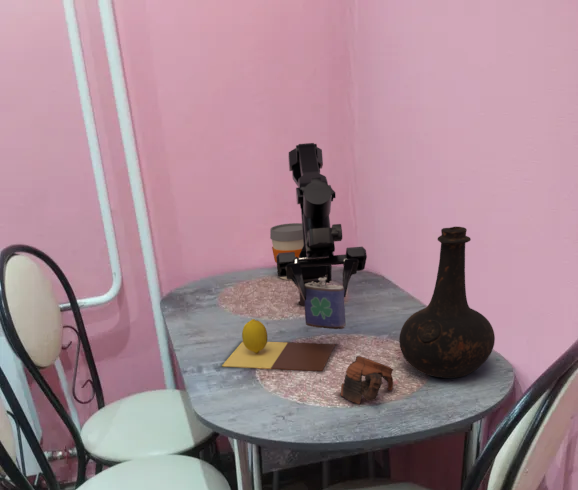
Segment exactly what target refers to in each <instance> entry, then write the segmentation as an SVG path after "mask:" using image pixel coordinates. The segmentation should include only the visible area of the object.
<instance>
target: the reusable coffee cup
mask: <svg viewBox="0 0 578 490" xmlns="http://www.w3.org/2000/svg"><path fill="white" fill-rule="evenodd" d="M269 232H270V233H269V234H270V237H269V239H270V240H271V244H272V246H271V251H272V255H273V259H274V263H276V264H277V260H276V256H277V255H278V253H287V252H295V257H298V258H299V254H300V252H301V250H302V248H303V246H304V245H303V231H302V222H301V223H300V222H296V223H295V222H293V223H292V222H291V223H283V224H278V225H274V226H272V227H270V231H269ZM279 279H281V280H286V281H287V280H288V281H292V280H291V279H287V277H279Z"/></svg>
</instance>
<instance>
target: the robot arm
mask: <svg viewBox="0 0 578 490" xmlns="http://www.w3.org/2000/svg"><path fill="white" fill-rule="evenodd" d="M317 145H318V144H317V143H314V142H305V143H299V144H296V145H295V147H294V148H293V149H291V150H290V151H288V170H289V172H291V177H292V180H293V182H294V183H295V185H296V186H297V187H295V197H296V205H299V207H300V216H301V223H302V231H303V245H304V246H303V248H302V250H301V252H300V254H299V258H298V257H295V252H287V253H278V255H277V256H276V260H277V263H276V270H277V271H276V272H277V277H279V278H280V277H287V279H291V280H290V281H292V283H293V284H294V285H295V286H296V288H297V289H298V292H299V301H298V305H301V306H303V307H305V300H306V290H305V286H304V284H306V283H311V282H312V281H314V282H316V283H318V282H320V281H319V280H318V279H319V278H323V277H325V278H327V280H326V284H330V282H332V269H333V267H332V266H338V265H342V267H343V268H342V286H343V287H344V298H346V296H347V291H348V286H349V283H350V281H351V278H352V276H353V275H356V274H357V272H362V271H363V270H365V269H366V268H365V267H366V263H367V258H368V254H367V250H366V248H365V247H363V246H353V247H346V248H345V254H336V255H335V253H334V252H335V251H336V247H335V243H336V242H342V240H343V229H342V223H334V224H332V225H331V221H330V220H331V219H330V215H331V209H332V202H334V199H336V191H335V190H334V189H333V187H332V186H331V184H329V183H328V179H327V176H326V175H324V174H321V170H322V169H323V166H324V157H323V150H322V148H320V147H318V146H317ZM314 282H313V283H314Z"/></svg>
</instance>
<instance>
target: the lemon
mask: <svg viewBox="0 0 578 490" xmlns="http://www.w3.org/2000/svg"><path fill="white" fill-rule="evenodd" d="M241 332H242V333H241V339H242V341H243V343H244V345H245V347H246V348H247V349H248V350H250V351H253V352H254V353H258V352H259V351H260V350H262V349H263V348H264V347H265V346H266V344H267V342H268V331H267V328H266V326H265V325H264V324H263V322H261V321H260V320H257V319H255V318H253V319H251V320H249V321H247V322H246V323H245V324H244V326H243V328H242V331H241Z"/></svg>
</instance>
